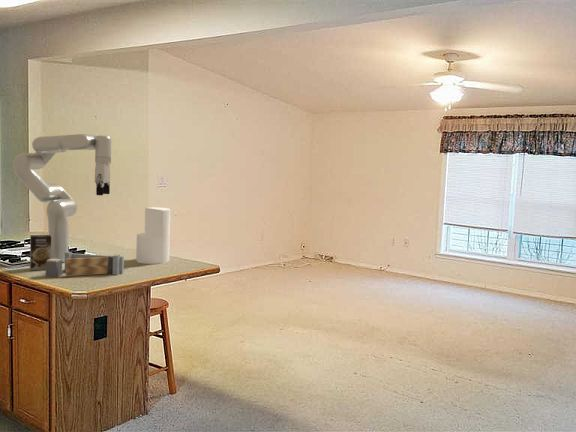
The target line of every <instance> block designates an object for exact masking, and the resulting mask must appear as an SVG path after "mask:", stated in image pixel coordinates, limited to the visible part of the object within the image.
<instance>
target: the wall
mask: <svg viewBox="0 0 576 432" xmlns="http://www.w3.org/2000/svg"><path fill="white" fill-rule="evenodd" d="M109 256H110V255H103V254H91V253H90V254H88V253H87V254H86V253H73V251H68V252H65V262H64V272H66V258H95V257H107V258H108V265H107V274H109ZM112 256H113V273H112V275H113V276H118V275H120V274H121V275H122V274H124V272H125V271H124V270H125V269H124V268H125V264H124V263H125V261H124V260H125V259H124V258H125V257H124V256H121V254H114V255H112Z"/></svg>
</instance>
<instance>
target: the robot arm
mask: <svg viewBox="0 0 576 432" xmlns="http://www.w3.org/2000/svg"><path fill="white" fill-rule="evenodd" d="M31 145H32V149H33V150H34V151H35V152H22V153H19V154H17V155H16V156H15V157H14V159H13V164H12V166H13V167H12V168H13V172H14V174H15V175H16V177H17V178H18V179H19V180H20V181H21V183H23V184H24V185H25V187H26V188H27V189H28V190H29V191H30V192H31V193H32V195H34V196H35V198H36V199H37V200H38V201H39V202H41V203H47V206H46V217H47V222H48V223H47V224H48V225H47V226H48V228H47V230H48V235H50V236H51V259H52V258H53V259H61V260H62V263H65V252H69V222H68V219H67V218H69V217H72V216H74V215H75V214H76V213H77V211H78V204H77V202H76V201H75V200H74V198H73V197H72V196H71V195H70V194H69V193H68V192H67V191H66V190H65V189H64V188H63V187H62V186H61V185H59V184H57V183H48V182H47V181H46V180H44V179H43V178H42V176H41V175H40V174H38V173H37V172H36V171H34V170H41V169H43V168H45V166H46V165H48V163H49V161H51V159H53V157H54V156H55V155H56V153H57V154H59V153H66V152H67V151H76V150H77V151H78V150H80V151H81V150H84V151H85V150H87V151H95V152H94V153H95V154H94V159H95V160H94V161H95V166H94V167H95V168H94V183H95V185H96V186H95V187H96V191H95V192H96V193H95V195H96V196H103V195H109V194H111V193H110V191H111V190H110V183H111V166H110V164H112V138H111V136H109V135H93V134H84V133H82V134H80V133H79V134H78V133H77V134H67V135H66V134H65V135H63V134H62V135H47V136H39V137H36V138H34V139H33V141H32V143H31Z"/></svg>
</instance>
